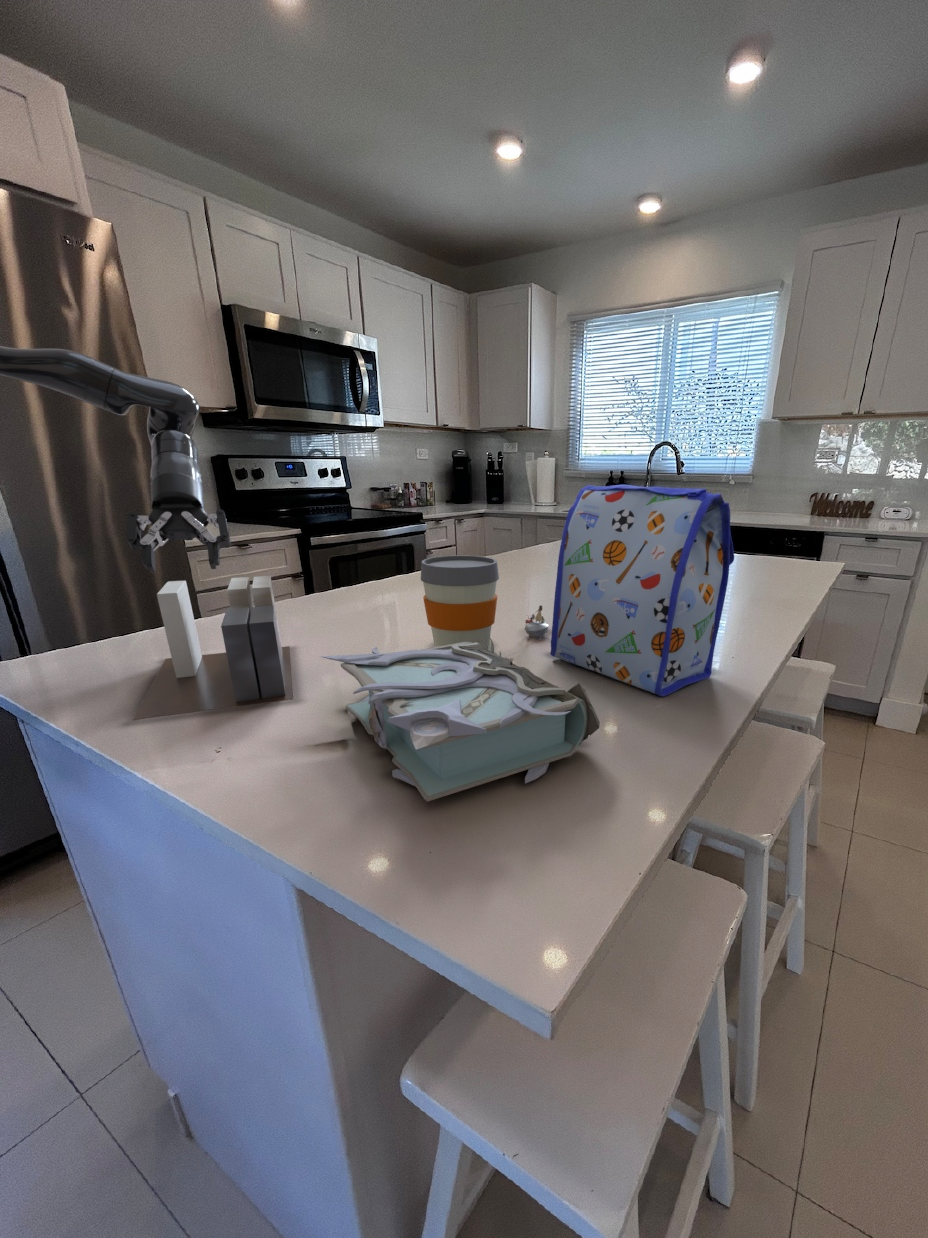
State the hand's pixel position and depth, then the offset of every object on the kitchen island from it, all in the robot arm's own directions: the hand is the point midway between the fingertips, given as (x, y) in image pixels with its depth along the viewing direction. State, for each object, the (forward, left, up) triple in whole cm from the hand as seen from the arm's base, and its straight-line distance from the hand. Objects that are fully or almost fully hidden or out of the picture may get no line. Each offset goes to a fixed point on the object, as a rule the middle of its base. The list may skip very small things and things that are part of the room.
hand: (182, 567), depth 89 cm
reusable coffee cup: (+41, -15, -14) cm, 46 cm away
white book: (0, -11, -13) cm, 17 cm away
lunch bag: (+63, -32, -14) cm, 72 cm away
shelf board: (+5, -18, -14) cm, 23 cm away
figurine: (+56, -12, -14) cm, 59 cm away
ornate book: (+31, -45, -14) cm, 56 cm away
